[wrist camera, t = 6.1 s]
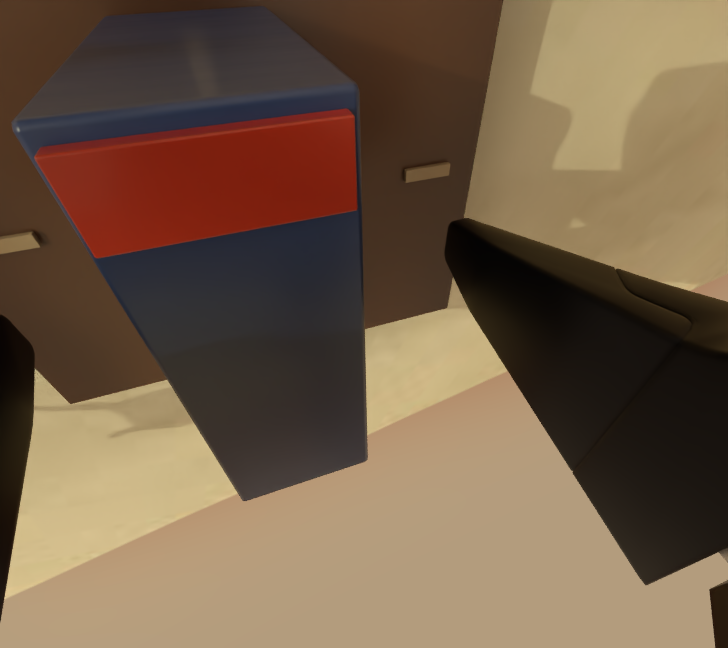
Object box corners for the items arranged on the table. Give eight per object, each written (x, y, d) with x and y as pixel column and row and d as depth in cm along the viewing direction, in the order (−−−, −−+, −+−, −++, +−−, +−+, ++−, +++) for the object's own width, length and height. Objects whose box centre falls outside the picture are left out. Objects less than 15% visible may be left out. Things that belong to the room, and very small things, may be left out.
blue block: (311, 303, 13) (372, 471, 9) (222, 324, 13) (243, 514, 9) (266, 5, 8) (370, 89, 4) (101, 16, 7) (-7, 134, 3)
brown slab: (85, 343, 15) (70, 410, 13) (-299, -147, 6) (-530, -185, 4) (417, 268, 18) (449, 312, 16) (457, -137, 9) (537, -157, 7)
